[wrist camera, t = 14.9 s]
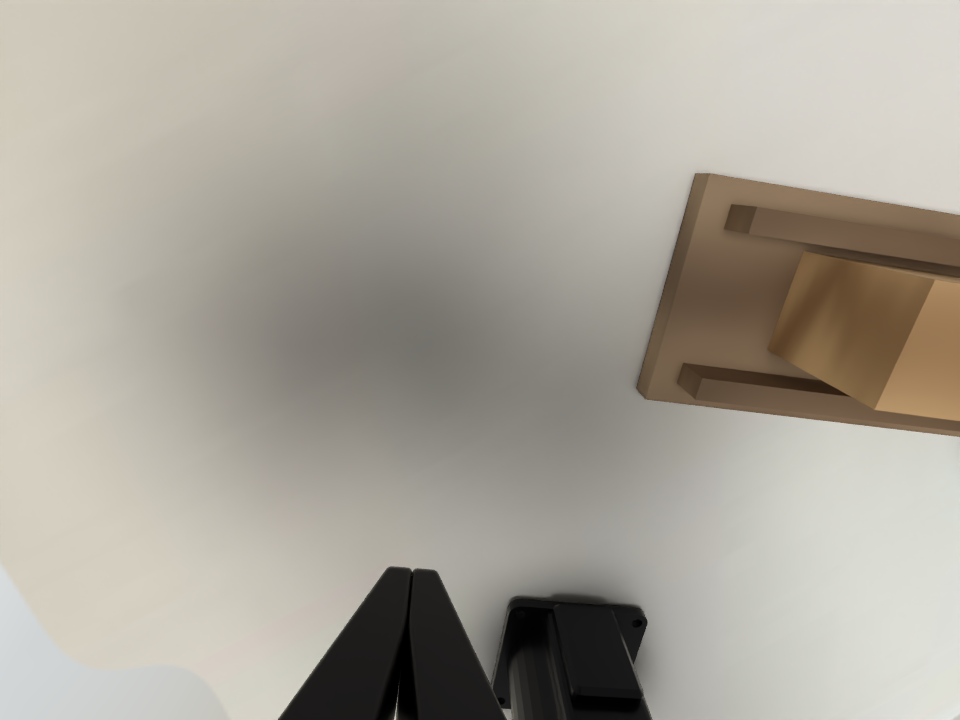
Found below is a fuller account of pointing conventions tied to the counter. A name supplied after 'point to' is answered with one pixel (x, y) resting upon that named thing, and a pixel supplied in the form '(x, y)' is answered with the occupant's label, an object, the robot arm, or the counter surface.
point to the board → (774, 295)
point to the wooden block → (875, 333)
